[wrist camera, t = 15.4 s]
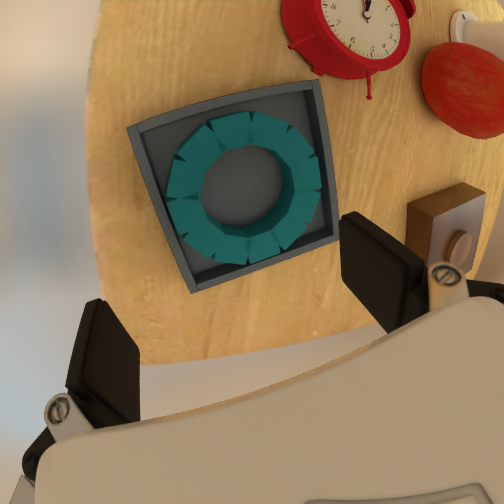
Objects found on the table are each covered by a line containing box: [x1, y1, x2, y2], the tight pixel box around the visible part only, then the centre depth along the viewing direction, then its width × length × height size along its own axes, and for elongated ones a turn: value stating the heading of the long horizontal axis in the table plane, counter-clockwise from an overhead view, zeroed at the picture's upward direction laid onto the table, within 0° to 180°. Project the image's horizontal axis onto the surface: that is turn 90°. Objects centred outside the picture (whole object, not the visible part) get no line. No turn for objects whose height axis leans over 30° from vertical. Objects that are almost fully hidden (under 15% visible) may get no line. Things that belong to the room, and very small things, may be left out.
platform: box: [405, 183, 486, 274], centre depth 29 cm, size 12×12×5 cm
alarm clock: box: [281, 0, 416, 100], centre depth 14 cm, size 10×6×15 cm
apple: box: [421, 42, 504, 139], centre depth 17 cm, size 10×10×10 cm
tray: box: [126, 79, 339, 294], centre depth 20 cm, size 13×13×2 cm
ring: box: [166, 111, 322, 265], centre depth 20 cm, size 11×11×2 cm
